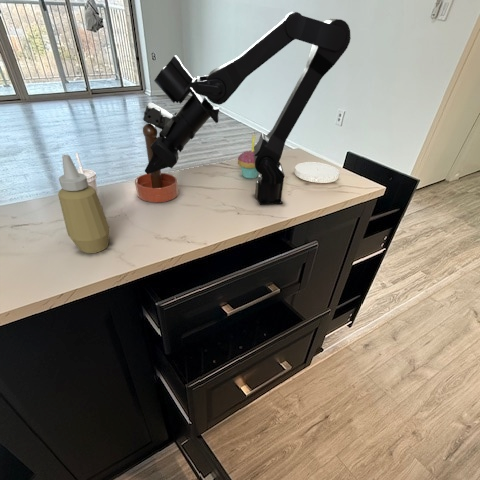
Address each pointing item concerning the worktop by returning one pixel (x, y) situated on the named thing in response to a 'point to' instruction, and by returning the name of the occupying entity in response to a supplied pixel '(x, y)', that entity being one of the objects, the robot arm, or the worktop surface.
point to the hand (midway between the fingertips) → (149, 167)
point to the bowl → (156, 194)
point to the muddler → (150, 137)
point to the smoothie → (87, 174)
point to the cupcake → (248, 162)
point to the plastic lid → (316, 172)
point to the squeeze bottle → (82, 210)
